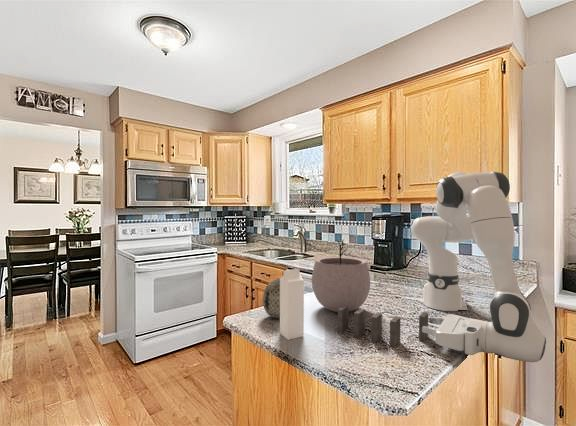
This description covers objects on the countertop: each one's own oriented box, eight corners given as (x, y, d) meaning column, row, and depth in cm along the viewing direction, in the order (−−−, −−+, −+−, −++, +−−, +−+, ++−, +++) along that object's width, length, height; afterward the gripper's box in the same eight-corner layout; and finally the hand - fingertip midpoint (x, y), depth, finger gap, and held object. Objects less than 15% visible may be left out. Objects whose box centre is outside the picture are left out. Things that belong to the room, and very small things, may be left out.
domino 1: (344, 327, 111) (344, 305, 111) (348, 328, 110) (348, 306, 110) (337, 332, 107) (337, 309, 107) (341, 333, 106) (342, 310, 106)
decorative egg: (256, 317, 121) (256, 279, 121) (277, 310, 130) (277, 274, 129) (278, 325, 113) (278, 284, 113) (299, 317, 122) (299, 278, 122)
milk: (279, 333, 106) (279, 268, 106) (295, 330, 109) (295, 267, 109) (288, 340, 101) (287, 272, 101) (304, 336, 104) (304, 270, 103)
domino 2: (360, 331, 108) (360, 308, 108) (364, 333, 107) (364, 309, 107) (353, 336, 104) (354, 312, 104) (358, 337, 103) (358, 313, 103)
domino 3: (377, 336, 104) (377, 312, 104) (381, 337, 103) (382, 313, 103) (371, 341, 100) (371, 316, 100) (376, 342, 99) (376, 317, 99)
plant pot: (332, 324, 115) (332, 242, 114) (301, 305, 136) (301, 236, 136) (382, 314, 125) (383, 239, 124) (346, 298, 147) (347, 234, 146)
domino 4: (395, 340, 101) (395, 316, 100) (400, 342, 100) (400, 317, 99) (389, 346, 97) (390, 320, 96) (395, 347, 96) (395, 321, 95)
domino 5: (422, 335, 105) (423, 311, 105) (428, 336, 104) (428, 312, 104) (419, 340, 101) (419, 315, 101) (424, 341, 100) (424, 316, 100)
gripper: (479, 314, 102) (433, 306, 110) (471, 335, 86) (418, 323, 94) (479, 333, 102) (433, 323, 110) (470, 358, 86) (417, 344, 94)
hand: (426, 323), depth 102 cm, fingers open, 8 cm apart
